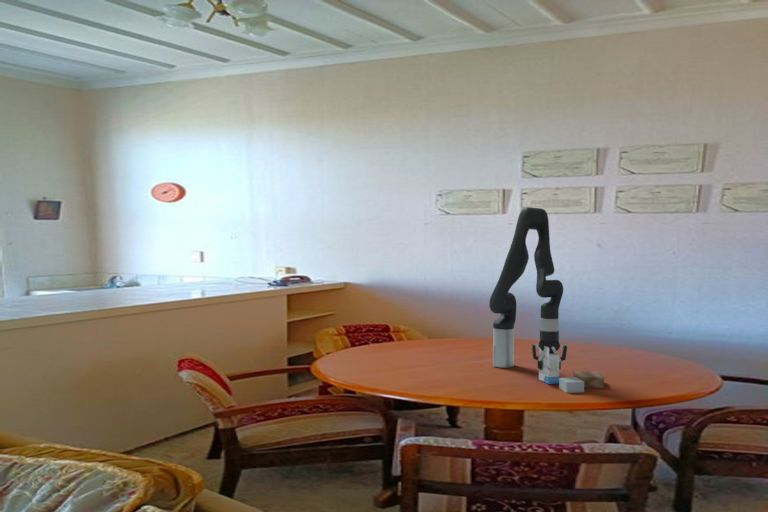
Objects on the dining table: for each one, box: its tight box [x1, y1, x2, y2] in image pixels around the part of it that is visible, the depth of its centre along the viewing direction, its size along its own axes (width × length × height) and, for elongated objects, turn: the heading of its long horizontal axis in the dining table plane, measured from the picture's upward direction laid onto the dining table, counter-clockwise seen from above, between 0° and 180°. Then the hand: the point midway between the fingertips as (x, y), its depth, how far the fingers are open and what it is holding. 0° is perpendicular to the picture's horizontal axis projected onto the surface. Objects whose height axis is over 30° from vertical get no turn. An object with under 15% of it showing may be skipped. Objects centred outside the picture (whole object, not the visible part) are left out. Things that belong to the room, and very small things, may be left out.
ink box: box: [538, 346, 560, 385], centre depth 247 cm, size 8×5×15 cm, turn 14°
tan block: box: [572, 370, 605, 389], centre depth 243 cm, size 10×10×4 cm
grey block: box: [558, 377, 585, 394], centre depth 234 cm, size 7×7×4 cm
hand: (549, 370), depth 247 cm, fingers closed on ink box, 6 cm apart
